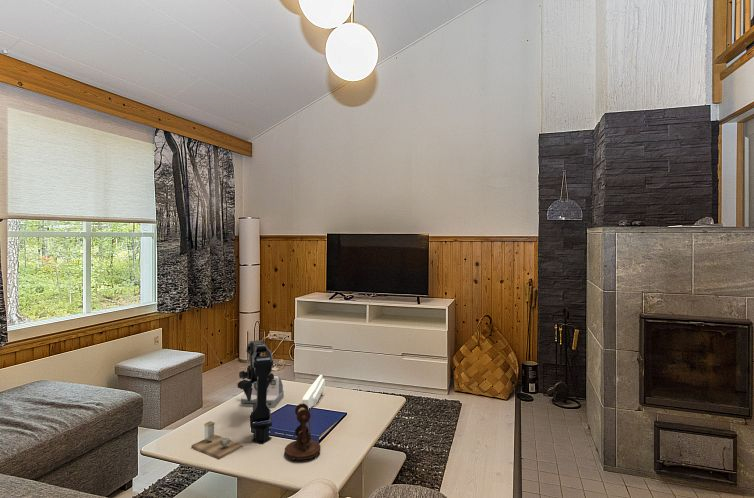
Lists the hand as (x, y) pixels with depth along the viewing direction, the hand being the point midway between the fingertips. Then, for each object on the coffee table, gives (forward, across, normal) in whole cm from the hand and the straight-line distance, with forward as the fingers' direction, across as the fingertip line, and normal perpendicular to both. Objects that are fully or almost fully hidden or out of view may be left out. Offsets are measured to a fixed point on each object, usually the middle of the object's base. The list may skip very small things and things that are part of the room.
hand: (256, 397), depth 208 cm
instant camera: (+12, -22, -18) cm, 30 cm away
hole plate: (+12, +27, +5) cm, 30 cm away
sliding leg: (+10, +27, 0) cm, 29 cm away
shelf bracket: (+12, -34, +8) cm, 37 cm away
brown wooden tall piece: (+12, +12, +40) cm, 44 cm away
